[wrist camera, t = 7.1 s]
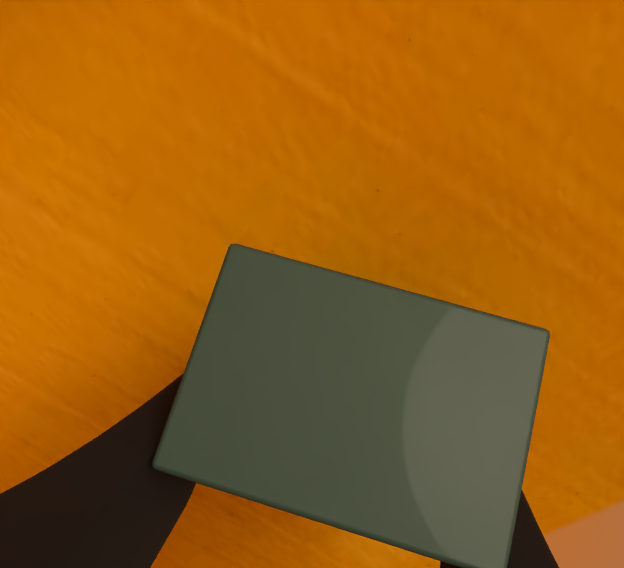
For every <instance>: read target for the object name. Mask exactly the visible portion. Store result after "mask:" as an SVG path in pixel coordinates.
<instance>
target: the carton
mask: <svg viewBox="0 0 624 568" xmlns="http://www.w3.org/2000/svg"><path fill="white" fill-rule="evenodd" d="M549 338H550V334H549V331H548V330H546V329H544V328H540V327H537V326H533V325H529V324H526V323H522V322H519V321H515V320H511V319H508V318H504V317H500V316H497V315H493V314H489V313H486V312H482V311H479V310H475V309H471V308H468V307H464V306H460V305H457V304H453V303H449V302H446V301H442V300H439V299H435V298H431V297H428V296H424V295H420V294H417V293H413V292H410V291H406V290H402V289H399V288H395V287H391V286H388V285H384V284H380V283H377V282H373V281H370V280H366V279H362V278H359V277H355V276H351V275H348V274H344V273H341V272H337V271H333V270H330V269H326V268H322V267H319V266H315V265H311V264H308V263H304V262H301V261H297V260H293V259H290V258H286V257H282V256H279V255H275V254H272V253H268V252H264V251H261V250H257V249H253V248H250V247H246V246H242V245H239V244H231V245H230V246H229V248H228V250H227V253H226V256H225V259H224V262H223V264H222V267H221V270H220V273H219V276H218V278H217V281H216V284H215V287H214V290H213V293H212V295H211V298H210V301H209V304H208V307H207V309H206V312H205V315H204V318H203V321H202V323H201V326H200V329H199V332H198V335H197V337H196V340H195V343H194V346H193V349H192V351H191V354H190V357H189V360H188V363H187V366H186V368H185V371H184V374H183V377H182V380H181V382H180V385H179V388H178V391H177V394H176V396H175V399H174V402H173V405H172V408H171V410H170V413H169V416H168V419H167V422H166V424H165V427H164V430H163V433H162V436H161V439H160V441H159V444H158V447H157V450H156V453H155V455H154V458H153V461H152V467H153V468H154V469H156V470H158V471H161V472H164V473H167V474H170V475H173V476H176V477H180V478H183V479H186V480H189V481H192V482H195V483H198V484H201V485H205V486H208V487H211V488H214V489H217V490H220V491H223V492H226V493H230V494H233V495H236V496H239V497H242V498H245V499H248V500H251V501H255V502H258V503H261V504H264V505H267V506H270V507H273V508H276V509H280V510H283V511H286V512H289V513H292V514H295V515H298V516H301V517H305V518H308V519H311V520H314V521H317V522H320V523H323V524H326V525H330V526H333V527H336V528H339V529H342V530H345V531H348V532H351V533H355V534H358V535H361V536H364V537H367V538H370V539H373V540H376V541H380V542H383V543H386V544H389V545H392V546H395V547H398V548H401V549H405V550H408V551H411V552H414V553H417V554H420V555H423V556H426V557H430V558H433V559H436V560H439V561H442V562H445V563H448V564H451V565H455V566H458V567H461V568H507V565H508V560H509V554H510V549H511V544H512V538H513V533H514V527H515V522H516V516H517V511H518V506H519V500H520V495H521V489H522V484H523V479H524V473H525V468H526V462H527V457H528V451H529V446H530V441H531V435H532V430H533V424H534V419H535V414H536V408H537V403H538V397H539V392H540V387H541V381H542V376H543V370H544V365H545V359H546V354H547V349H548V343H549Z"/></svg>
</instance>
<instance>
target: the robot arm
mask: <svg viewBox="0 0 624 568" xmlns="http://www.w3.org/2000/svg"><path fill="white" fill-rule="evenodd" d="M182 377H183V374H182V375H181V376H179V377H178V378H177V379H176V380H174V381H173V382H172V383H171V384H169V385H168V386H167V387H166V388H164V389H163V390H162V391H160V392H159V393H158V394H156V395H155V396H154V397H153V398H151V399H150V400H149V401H147V402H146V403H144V404H143V405H142V406H140V407H139V408H138V409H136V410H135V411H134V412H132V413H131V414H129V415H128V416H127V417H125V418H124V419H122V420H121V421H119V422H118V423H117V424H115V425H114V426H112V427H111V428H109V429H108V430H107V431H105V432H104V433H102V434H101V435H99V436H98V437H96V438H95V439H93V440H92V441H90V442H88V443H87V444H85V445H84V446H82V447H81V448H79V449H77V450H76V451H74V452H73V453H71V454H69V455H68V456H66V457H65V458H63V459H61V460H60V461H58V462H57V463H55V464H53V465H52V466H50V467H48V468H47V469H45V470H43V471H41V472H40V473H38V474H36V475H34V476H33V477H31V478H29V479H27V480H26V481H24V482H22V483H20V484H18V485H16V486H14V487H13V488H11V489H9V490H7V491H5V492H3V493H1V494H0V568H150V567H151V565H152V563H153V562H154V560H155V558H156V557H157V555H158V553H159V551H160V550H161V548H162V546H163V545H164V543H165V541H166V539H167V538H168V536H169V534H170V532H171V531H172V529H173V527H174V525H175V524H176V522H177V520H178V519H179V517H180V515H181V513H182V511H183V510H184V508H185V506H186V504H187V502H188V500H189V498H190V496H191V494H192V491H193V489H194V487H195V485H196V483H195V482H192V481H189V480H186V479H183V478H180V477H176V476H173V475H170V474H167V473H164V472H161V471H158V470H156V469H154V468H153V467H152V461H153V458H154V455H155V453H156V450H157V447H158V444H159V441H160V439H161V436H162V433H163V430H164V427H165V424H166V422H167V419H168V416H169V413H170V410H171V408H172V405H173V402H174V399H175V396H176V394H177V391H178V388H179V385H180V382H181V380H182ZM440 568H461V567H458V566H455V565H451V564H448V563H445V562H442V561H441V563H440ZM507 568H559V567H558V565H557V563H556V561H555V559H554V557H553V555H552V553H551V551H550V549H549V547H548V545H547V543H546V541H545V539H544V537H543V534H542V532H541V530H540V528H539V526H538V524H537V522H536V520H535V517H534V515H533V513H532V511H531V509H530V507H529V504H528V502H527V500H526V498H525V496H524V493H523V491H522V489H521V495H520V500H519V506H518V511H517V516H516V522H515V527H514V533H513V538H512V544H511V549H510V554H509V560H508V565H507Z"/></svg>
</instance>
